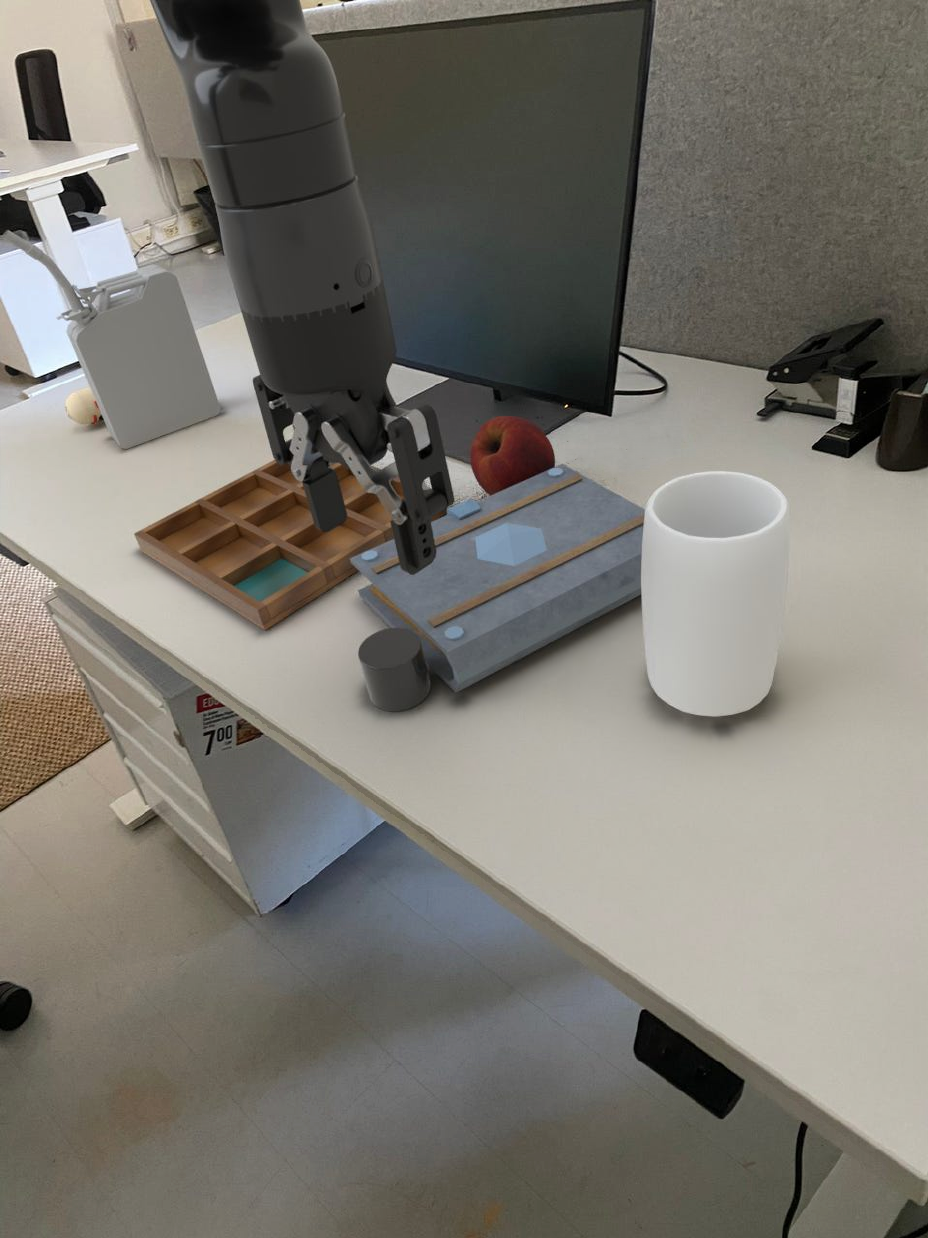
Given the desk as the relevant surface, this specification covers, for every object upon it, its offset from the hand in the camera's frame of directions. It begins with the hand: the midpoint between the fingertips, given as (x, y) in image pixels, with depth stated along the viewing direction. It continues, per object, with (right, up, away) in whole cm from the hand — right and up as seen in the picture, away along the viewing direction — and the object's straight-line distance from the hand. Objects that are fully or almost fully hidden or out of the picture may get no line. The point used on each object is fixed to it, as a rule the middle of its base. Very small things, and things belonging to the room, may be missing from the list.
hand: (374, 545), depth 55 cm
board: (-10, +3, +27) cm, 29 cm away
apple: (+11, +7, +26) cm, 29 cm away
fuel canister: (-32, +18, +51) cm, 63 cm away
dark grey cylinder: (+1, -10, +7) cm, 12 cm away
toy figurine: (-39, +22, +57) cm, 73 cm away
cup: (+22, -9, +3) cm, 24 cm away
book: (+10, -2, +15) cm, 18 cm away
